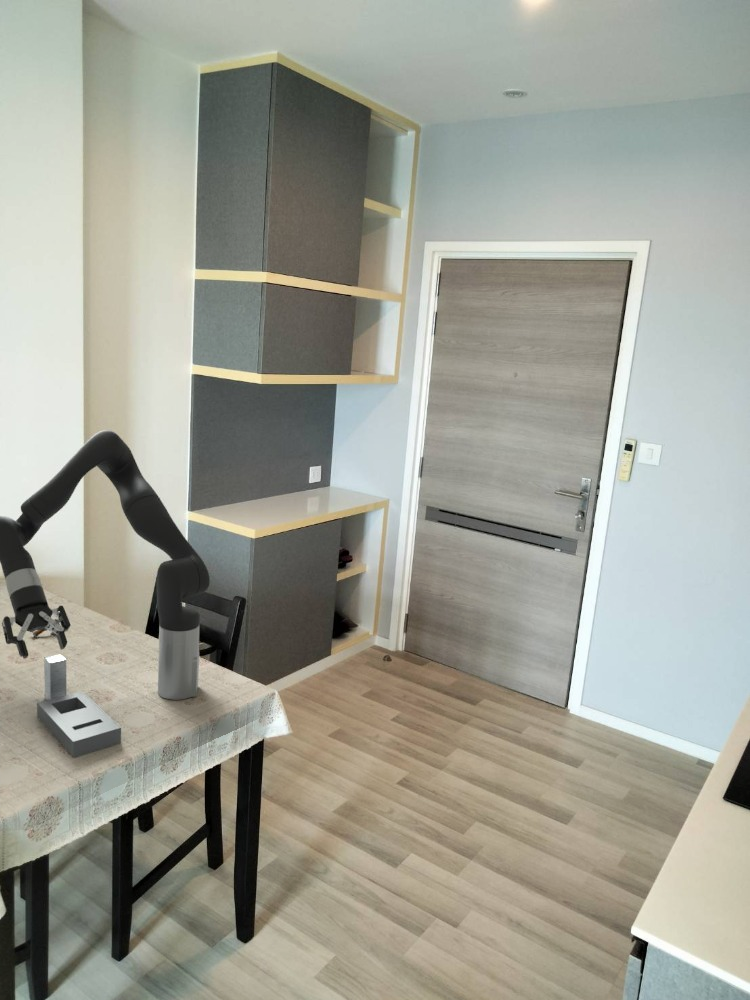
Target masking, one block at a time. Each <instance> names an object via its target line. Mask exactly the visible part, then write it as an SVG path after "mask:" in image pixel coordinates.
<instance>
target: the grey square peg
mask: <svg viewBox="0 0 750 1000" xmlns="http://www.w3.org/2000/svg"><path fill="white" fill-rule="evenodd" d="M43 660H44V664H43V666H44V672H43V673H44V674H43V675H44V676H43V677H44V699H45V700H49V699H53V698H57V697H61V696H65V695H67V659H66V658H65V657H64V656H63V655H62V654H56V655H55V654H54V655H51V656H46V657H44V659H43Z"/></svg>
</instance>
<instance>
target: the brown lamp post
mask: <svg viewBox="0 0 750 1000" xmlns="http://www.w3.org/2000/svg"><path fill="white" fill-rule="evenodd" d="M54 620H55V621H56V622H57V623H58V624H59V625H60V626H61V623H60V621H59V618H54ZM46 631H48V630H47V629H46V628H44V629H43V630H36V631H34V632H31V633H32V635H33V636H34V638H35V639H37V638H38V636H39V635H41V634H43V632H46ZM55 635H56V634H55V633H54V632H52V631H51V632H50V636H55Z"/></svg>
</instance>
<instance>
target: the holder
mask: <svg viewBox="0 0 750 1000" xmlns="http://www.w3.org/2000/svg"><path fill="white" fill-rule="evenodd" d="M36 710H37V712H36V715H37V716H36V718H37V719H38V718H39V719H40V720H39V719H38V720H39V721H40V722H41V723H42V724H43V726H44V727H46V728H47V730H48V731H49V732H50V733H51V734H52V735H53V737H54V738H55V739H56V740H57V741H58V742H59V743H60V745H61V746H62V747H63V748H64V749H65V750H66V751H67V752H68V754H69V755H70V756H71V757H72V758H76V757H80V756H83V755H87V754H89V753H94V752H96V751H99V750H102V749H107V748H109V747H111V746H115V745H118V744H121V743H122V727H121V726H120V724H118V723H117V722H116V721H115V720H114V719H113V718H112V717H111V716H110V715H108V713H107V712H106V711H104V710H103V709H102V708H101V707H100V706H99V705H98V704H97V703H96V702H95V701H94V700H93V699H92V698H91V697H90V696H88V695H87V694H86V692H84V690H81V691H77V692H73V693H70V694H66V695H65V696H61V697H57V698H53V699H49V700H46V699H45V700H41V701H38V702H36Z"/></svg>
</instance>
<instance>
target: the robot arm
mask: <svg viewBox="0 0 750 1000" xmlns="http://www.w3.org/2000/svg"><path fill="white" fill-rule="evenodd" d="M133 454H134V453H133V452H132V450H131V449H130V447H129V445H127V443H126V442H125V441H124V440H123V438H121V437H120V436H119V434H118V433H117V432H115V431H112V430H110V429H109V430H108V429H107V430H106V429H105V430H100V431H99V432H96V433H95V434H94V435H91V437H90V438H88V440H87V441H86V442H85V443H84V444H83V445H82V446H81V447H80V448H79V450H77V452H76V453H75V454H74V455H73V456H72V457H71V458H70V459H69V460H68V461H67V463H66V464H65V465H63V467H62V468H61V469H60V470H59V471H58V473H56V474H55V475H54V476H53V477H52V478H51V479H50V480H48V482H47V483H46V484H45V485H43V486H42V487H41V488H40V489H38V490H37V491H36V492H35V493H33V494H32V495H31V496H30V497H28V498H27V499H26V500H25V501H23V502H22V504H21V506H20V511H21V515H19V517H18V518H17V519H16V520H14V519H13V518H11V517H9V516H6V515H1V516H0V565H1V568H2V574H3V576H4V579H5V585H6V590H7V593H8V596H9V600H10V603H11V607H12V610H13V614H14V616H12V617H11V616H10V617H9V616H4V617H3V619H2V622H1V626H2V630H3V635H4V640H5V642H6V644H7V645H10V644H13V645H16V648H17V652H18V655H19V657H22V658H23V659H27V658H28V657H29V651H28V647H27V645H26V641H25V640H24V639H23V638H24V636H25V634H26V632H29V633H32V632H35V631H37V630H43V629H44V628H46V629H47V630H46V631H49V632H51V633H52V632H54V633H55V635H56V639H57V642H58V646H59V648H60V651H61V650H65V648H66V647H67V645H68V639H67V636H66V634H65V632H68V630H69V629H70V628H71V626H72V625H71V622H70V620H69V619H70V618H69V617H68V614H67V612H66V610H65V608H64V605H58V607H57V608H50V607H49V604H48V600H47V597H46V594H45V591H44V587H43V583H42V582H41V579H40V576H39V574H38V572H37V569H36V567H35V564H34V561H33V558H32V557H33V556H32V555H31V554H30V553H29V551H28V550H27V549H26V548H25V546H27V544H29V542H30V541H31V540H32V539H33V537H35V535H36V534H37V533H38V531H39V530H40V529H41V527H42V525H44V523H46V522H47V521H49V520H50V519H51V518H53V516H55V515H56V514H57V513H58V512H59V511H60V510H62V509H63V507H65V506H66V505H67V503H68V502H69V501H70V499H71V497H72V495H73V494H74V492H75V490H76V488H77V487H78V485H79V483H80V482H81V480H82V479H83V478H84V476H86V475H87V474H88V473H89V472H91V470H93V469H94V468H98V469H99V470H100V471H101V472H102V473H103V474H104V475H105V476H106V477H107V478H108V479H109V481H110V482H111V483H112V485H113V487H114V488H115V490H117V493H118V495H119V499H120V500H119V501H120V505H121V509H122V511H123V514H124V515H125V518H126V519H127V521H128V523H129V525H130V526H131V529H133V531H134V532H135V534H136V535H137V536H139V537H140V538H142V539H144V540H145V541H146V542H147V543H149V544H151V545H152V546H153V547H154V546H155V547H156V548H158V549H159V550H161V551H163V552H164V553H165V554H167V556H168V557H169V558H170V560H169V559H168V560H166V561H163V562H162V563H160V565H159V566H158V568H157V571H156V601H157V603H156V606H157V613H158V615H157V616H158V620H159V624H158V625H159V627H158V628H159V629H158V631H159V633H158V635H159V636H158V637H159V638H158V669H157V670H158V672H157V673H158V674H157V675H158V677H157V693H158V695H159V696H160V697H161V698H163V699H167V700H173V701H174V700H175V701H179V700H186V699H190V698H196V697H197V694H198V690H199V689H198V688H199V670H200V669H199V668H200V650H199V648H200V623H201V622H200V621H201V620H200V618H201V617H200V616H201V615H200V613H199V611H198V610H196V609H195V608H192V607H189V606H183V600H182V599H185V598H189V597H193V596H194V597H195V596H197V595H201V594H202V593H203V594H204V593H205V592H206V591H207V590H208V589H209V587H210V583H211V580H210V574H209V571H208V568H207V566H206V564H205V562H204V561H203V559H202V558H201V556H200V555H199V554H198V552H197V551H196V550H195V549H194V548H193V546H192V545H191V544H190V542H189V541H188V539H186V537H185V536H184V535H183V533H182V532H181V530H180V529H179V527H178V525H177V524H176V523H175V522H174V520H173V518H172V517H171V515H170V513H169V511H168V509H167V507H166V506H165V504H164V503H163V502H162V500H161V497H159V495H158V494H157V493H156V491H155V490H154V488H153V487H152V486H151V484H150V483H149V482H148V481H147V480H146V479H145V477H144V476H143V473H142V472H141V470H140V468H139V466H138V464H137V462H136V459H135V456H134V455H133ZM52 615H54V616H55V617H56V618H57V619H59V621H60V623H59V624H60V625H59V624H58V623H57V622H56V621H55V618H54V619H53V618H52ZM14 623H15V624H16V625H18V626H19V627H21V628H20V631H19V633H18V635H17V636H16V635H14V632H13V625H14Z"/></svg>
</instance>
